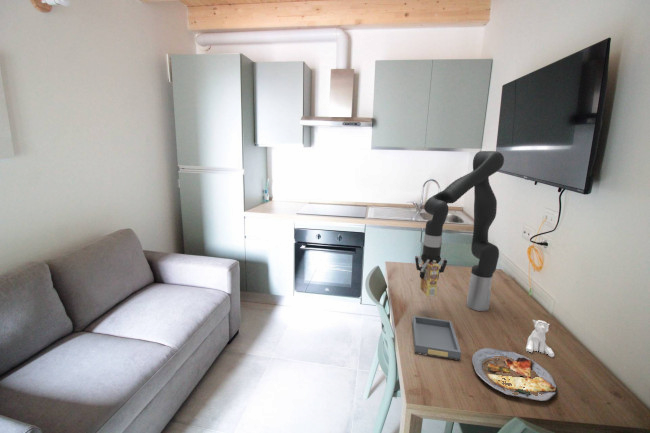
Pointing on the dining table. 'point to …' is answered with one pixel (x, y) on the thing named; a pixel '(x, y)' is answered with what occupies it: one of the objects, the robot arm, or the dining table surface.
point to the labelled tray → (435, 337)
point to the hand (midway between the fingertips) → (428, 279)
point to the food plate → (521, 367)
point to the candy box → (430, 279)
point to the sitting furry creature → (539, 339)
